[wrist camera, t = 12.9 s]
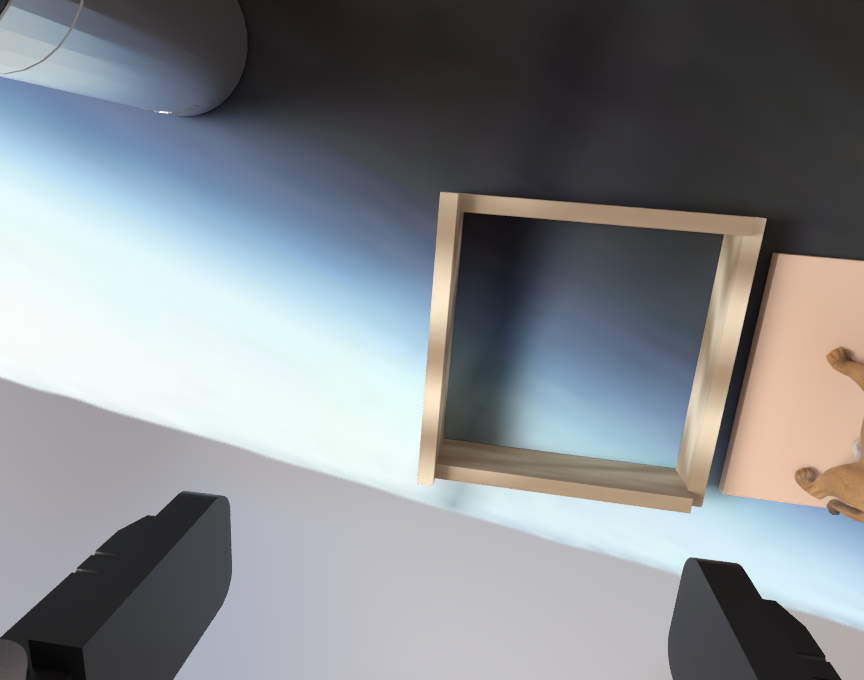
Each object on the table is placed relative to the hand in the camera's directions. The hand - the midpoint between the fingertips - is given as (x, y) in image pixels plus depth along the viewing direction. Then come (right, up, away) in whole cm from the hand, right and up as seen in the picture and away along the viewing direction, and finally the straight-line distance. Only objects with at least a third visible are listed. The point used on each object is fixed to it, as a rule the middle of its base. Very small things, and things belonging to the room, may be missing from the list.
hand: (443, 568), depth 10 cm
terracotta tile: (+26, +1, +26) cm, 37 cm away
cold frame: (+9, +4, +28) cm, 30 cm away
